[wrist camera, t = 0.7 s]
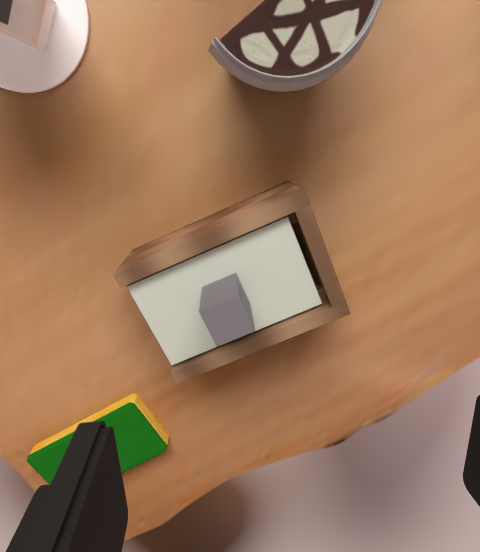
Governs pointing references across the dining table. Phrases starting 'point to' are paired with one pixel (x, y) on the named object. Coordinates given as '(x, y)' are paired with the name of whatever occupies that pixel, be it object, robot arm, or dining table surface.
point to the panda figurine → (41, 42)
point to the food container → (295, 42)
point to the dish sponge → (128, 433)
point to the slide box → (228, 227)
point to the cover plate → (258, 277)
